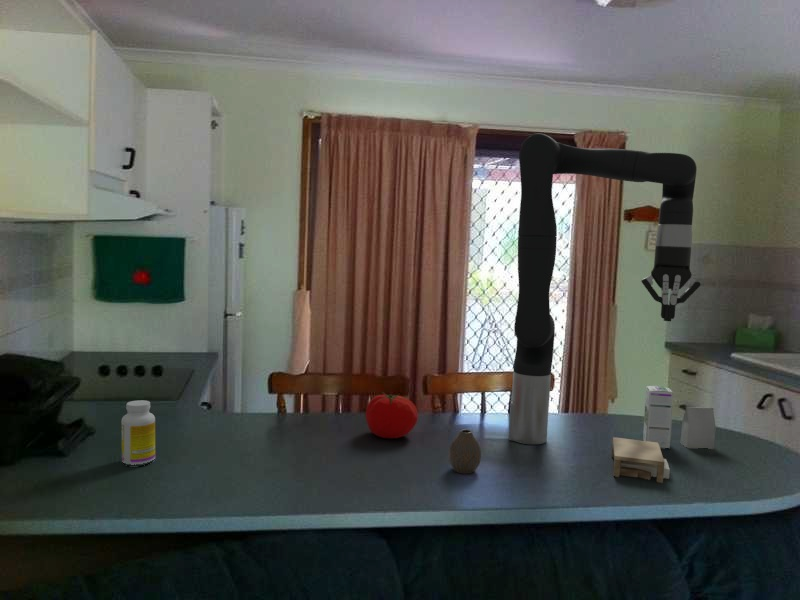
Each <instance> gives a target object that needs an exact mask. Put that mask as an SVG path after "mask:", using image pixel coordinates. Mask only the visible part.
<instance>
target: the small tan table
mask: <svg viewBox="0 0 800 600" xmlns="http://www.w3.org/2000/svg"><path fill="white" fill-rule="evenodd" d="M611 445H612V446H611V458H613V472H612V476H613V477H614V476H615V478H620V476H624V477H631V478H640V479H644V480H647V479H648V481H650V480H651V477H652V476H651V472H648V471H644V470H641V469H636V468H629V467H621V460H623V461H631V462H639V463H647V464H655V465H657V477H655V478H656V483H660V484H663V483H664V478H663V475H664V463H665V462H664V459H665V458H664V457H663V454H662V450H661V448H660V447H659V444H658V442H649V441H643V440H639V439H632V438H631V439H630V438H624V437H615V436H612V443H611Z"/></svg>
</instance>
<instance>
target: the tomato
mask: <svg viewBox="0 0 800 600" xmlns="http://www.w3.org/2000/svg"><path fill="white" fill-rule="evenodd" d="M381 393H382V394H378V395H376V396H374V397H373V398H372V399H371V400H370V401H369V403H368V405H367V407H366V409H365V410H366V411H365V419H366V423H367V426H368V428H369V431H370V432H371V433H373V435H376V436H377V437H380V438H383V439H394V438H395V439H398V438H401V437H404V436H406V435H408V434H409V433H411V431H412V430H413V429H414V428H415V426H416V424H417V423H418V420H419V415H418V410H417V407H416V405H415V404H414V403H413V401H411V400H410V399H408V398H406V397H404V396H401V395H399V394H396V395H393V394H386V393H385V392H383V391H381Z"/></svg>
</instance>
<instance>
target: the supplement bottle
mask: <svg viewBox="0 0 800 600" xmlns="http://www.w3.org/2000/svg"><path fill="white" fill-rule="evenodd" d="M125 408H126V409H125V410H126V411H127V413H126V414H125V415H123V416H122V418H121V420H120V421H121V423H120V424H121V463H122V462H123V463H126V464H131V465H134V464H135V465H136V464H143V463H147V462H150V461H152V460H154V459H155V460H156V417H155V415H154V414H153V413H151V412H150V409H151V402H150V401H149V400H142V399H141V400H138V399H137V400H132V401H131V400H130V401H128V402H127V403H126V405H125ZM155 460H154V461H155ZM123 463H122V464H123Z"/></svg>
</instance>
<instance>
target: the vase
mask: <svg viewBox="0 0 800 600" xmlns="http://www.w3.org/2000/svg"><path fill="white" fill-rule="evenodd" d="M448 458H449V464H450V467H452V469H453V470H454V471H455V472H456V473H459V474H463V475H464V474H465V475H466V474H472V473H474V472H475V471H476V470H477V469H478V467H479V466H480V463H481V459H482V451H481V446H480V444H479V442H478V441H477V438H476V437H475V436H474V434H473V432H472V430H469V429H462V430H460V431H459V433H458V434H457V436H456V437H455V438H454V439H453V441H452V442H451V444H450V446H449V449H448Z"/></svg>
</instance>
